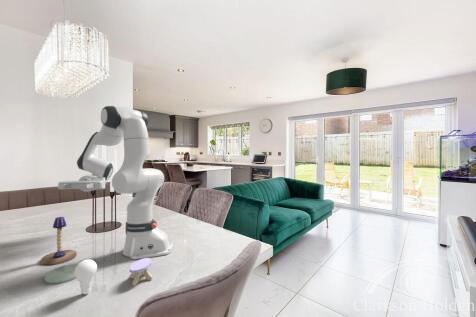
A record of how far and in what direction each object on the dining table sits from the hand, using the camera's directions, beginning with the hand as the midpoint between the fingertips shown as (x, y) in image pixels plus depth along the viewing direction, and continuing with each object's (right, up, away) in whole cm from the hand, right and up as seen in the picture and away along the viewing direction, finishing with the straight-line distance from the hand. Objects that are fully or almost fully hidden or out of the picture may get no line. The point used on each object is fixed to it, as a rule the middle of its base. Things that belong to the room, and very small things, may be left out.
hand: (74, 186), depth 108 cm
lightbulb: (+30, -31, -36) cm, 56 cm away
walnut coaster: (+2, -30, -12) cm, 32 cm away
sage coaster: (+15, -30, -24) cm, 41 cm away
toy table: (+44, -31, -26) cm, 60 cm away
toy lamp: (+2, -29, -12) cm, 31 cm away
